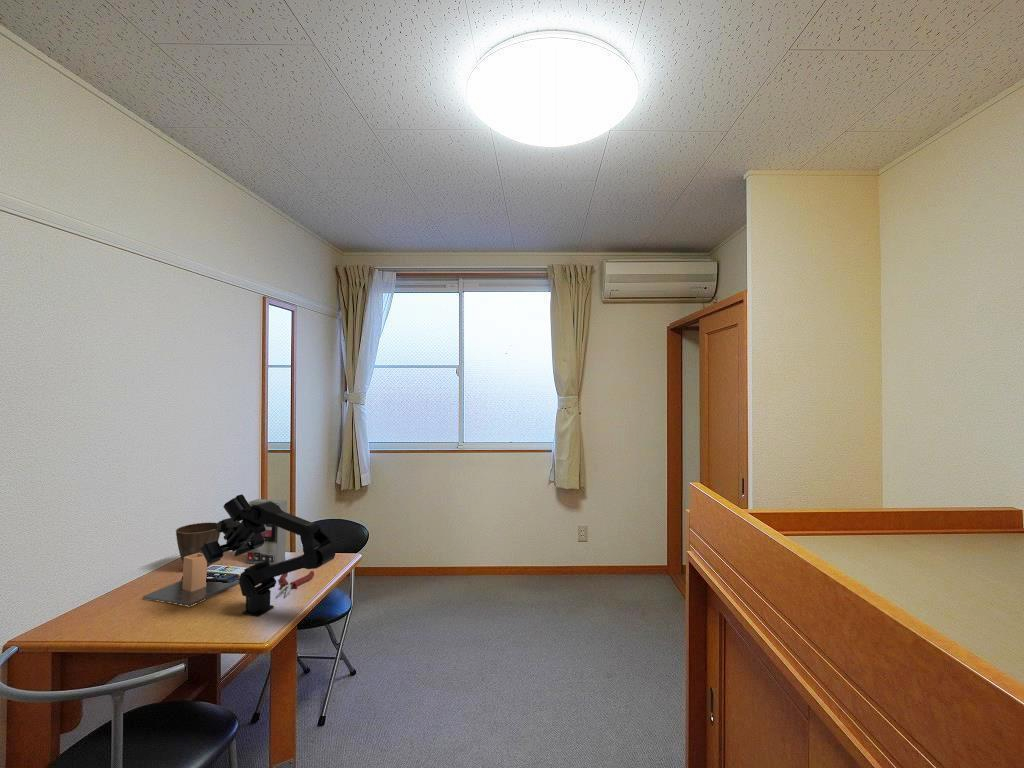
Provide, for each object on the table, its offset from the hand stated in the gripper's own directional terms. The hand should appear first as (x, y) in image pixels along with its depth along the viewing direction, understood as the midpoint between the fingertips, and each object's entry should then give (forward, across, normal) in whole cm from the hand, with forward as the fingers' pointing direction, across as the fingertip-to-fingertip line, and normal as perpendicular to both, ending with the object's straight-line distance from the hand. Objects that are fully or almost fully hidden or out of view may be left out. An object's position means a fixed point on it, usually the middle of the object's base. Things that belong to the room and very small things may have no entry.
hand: (222, 559), depth 151 cm
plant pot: (+35, -14, -15) cm, 41 cm away
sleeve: (+20, -1, -2) cm, 20 cm away
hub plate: (+20, -1, -1) cm, 21 cm away
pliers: (+4, -19, +17) cm, 25 cm away
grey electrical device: (+22, -30, -3) cm, 38 cm away
